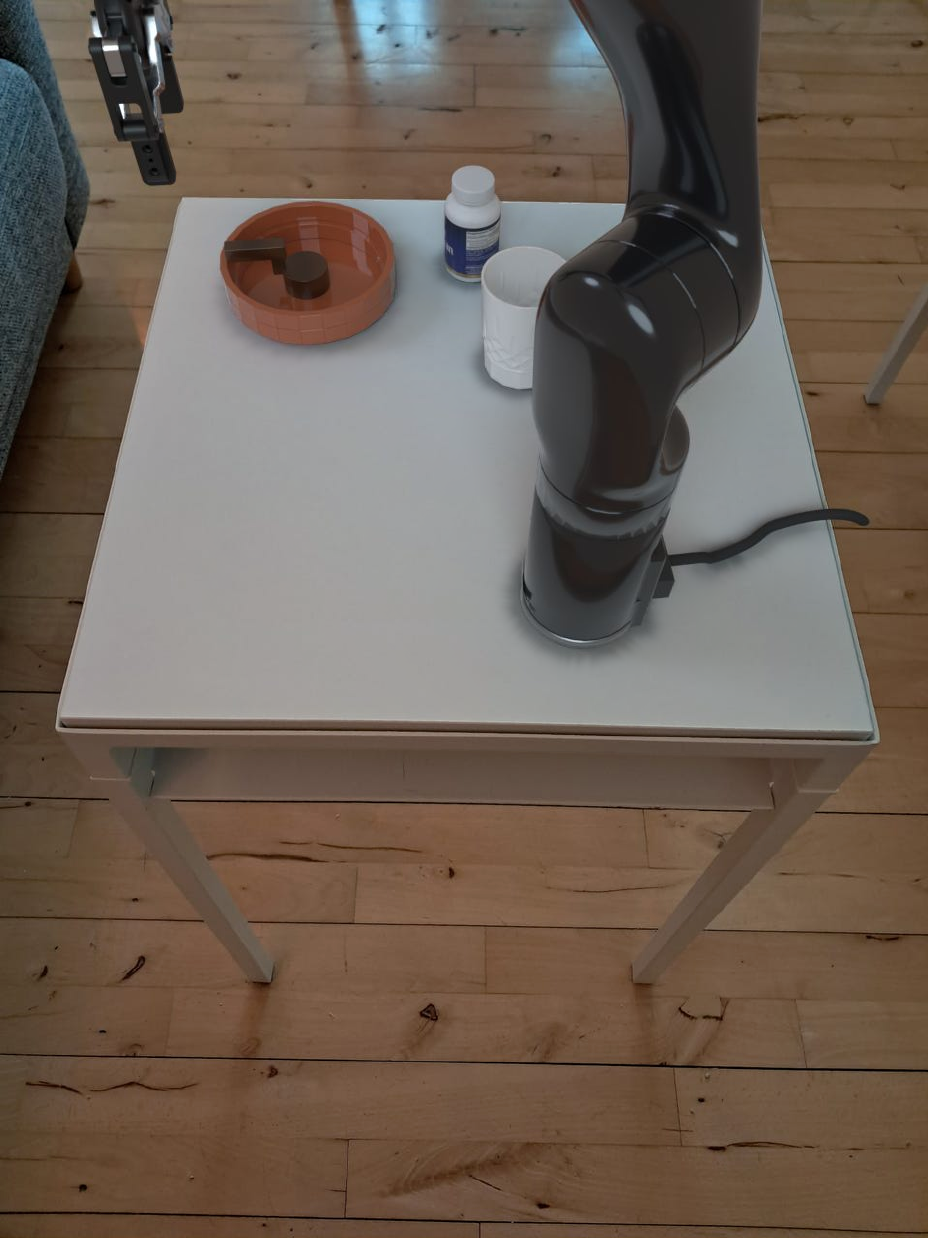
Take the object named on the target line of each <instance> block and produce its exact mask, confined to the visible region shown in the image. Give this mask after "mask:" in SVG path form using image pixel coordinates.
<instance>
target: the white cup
mask: <svg viewBox="0 0 928 1238" xmlns="http://www.w3.org/2000/svg"><path fill="white" fill-rule="evenodd" d="M567 261H568V260H566V259H565V258H563V256H561V255H559V254H558V253H556V252H555V251H552V250H550V249H547V248H544V247H540V246H534V245H517V246H511V247H508V248H505V249H502V250H499V252H498V253H496V254H494V255H493V256H492V257H490V258H489V259H488V260H487V262H486V263H485V265H484V266H483V269H482V273H481V281H480V284H481V322H482V323H481V324H482V325H481V326H482V327H481V328H482V340H483V347H484V350H483V351H484V367H485V369H486V371H487V373H488V375H489V376H490V378H491V379H492V380H494V381H495V382H497V383H498V384H500V385H501V386H503V387H506V388H511V389H516V390H527V389H532V377H533V349H534V331H535V321H536V314H537V309H538V305H539V301H540V298H541V295H542V292H543V290H544V288H545V286H546V284H547V282H548V280H549V279H550V277H551V276H552V275H553V273H554V272H555V271H556V270H557V269H559V268H560V267H561V266H562V265H563V264H565V263H566V262H567Z"/></svg>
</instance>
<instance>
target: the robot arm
mask: <svg viewBox="0 0 928 1238" xmlns="http://www.w3.org/2000/svg"><path fill="white" fill-rule="evenodd" d="M567 1H568V3H569V4H570V7H571V8H572V10H573V11H574V13H575V15H576V17H577V18H578V20H579V21H580V23H581V25H582V26H583V28H584V30H585V32H586V33H587V35H588V36H589V38H590V39H591V41H592V42H593V45H594V46H595V48H596V49H597V51H598V52H599V54H600V56H601V57H602V59H603V61H604V63H605V65H606V66H607V68H608V70H609V72H610V74H611V77H612V79H613V82H614V84H615V86H616V89H617V92H618V97H619V101H620V105H621V109H622V115H623V121H624V131H625V132H624V133H625V145H626V164H627V165H626V196H625V197H626V199H625V207H624V212H623V216H622V219H621V221H620V222H619V223H618V224H617V225H615V226H614V227H612V228H611V229H610V230H608V231H606V232H605V233H604V234H602V235H601V236H600V237H599V238H597V239H596V240H595V241H593V242H592V243H590V244H589V245H587V246H586V247H585V248H583V249H582V250H581V251H580V252H578V253H577V254H575V255H573V257H572V258H570V259H568V260H566V261H567V262H566V263H565V264H563V265H562V266H561V267H560V268H559V269H557V270H556V271H555V272H554V273H553V275H552V276H551V277H550V279H549V280H548V282H547V284H546V286H545V288H544V290H543V292H542V295H541V298H540V301H539V305H538V309H537V314H536V321H535V331H534V349H533V377H532V388H531V414H532V419H533V424H534V427H535V431H536V433H537V436H538V439H539V450H538V451H539V452H538V457H537V466H536V474H535V482H534V490H533V498H532V505H531V512H530V513H531V514H530V521H529V529H528V536H527V544H526V552H525V559H524V556H522V558H521V580H520V581H521V582H520V589H519V590H520V591H519V599H520V605H521V609H522V612H523V613H524V615H525V618H526V619H527V621H528V622H529V623H530V625H531V626H532V627H533V628H534V629H535V630H536V631H537V632H538V634H541V635H542V636H543V637H544V638H545V639H548V640H549V641H551V642H554V643H556V644H557V645H558V644H559V645H561V646H564V647H569V648H573V649H574V648H575V649H593V648H598V647H602V646H605V645H609V644H610V643H612V642H614V641H616V640H617V639H619V638H620V637H622V636H623V635H624V634H625V633H626V632H627V631H628V630H629V629H630V628H631V627H638V626H642V625H643V624H644V622H645V620H646V616H647V615H648V611H649V608H650V605H651V602H652V600H654V599H655V600H656V599H666V598H669V597H670V595H671V592H672V589H673V587H674V585H675V582H676V581H675V576H674V573H673V569H672V567H678V566H687V565H696V564H697V565H699V564H706V565H711V564H716V563H719V562H722V561H725V560H728V559H730V558H732V557H736V556H737V555H739V554H742V553H743V552H746V551H748V550H749V549H751V548H753V547H754V546H756V545H757V544H759V543H760V542H761V541H763V540H764V539H765V538H766V537H768V536H769V535H770V534H772V533H775V532H777V531H779V530H783V529H786V528H790V527H795V526H797V525H802V524H806V523H812V522H819V521H832V520H833V521H835V520H837V521H847V522H852V523H855V524H857V525H858V526H859V527H866V526H869V525H870V523H871V522H870V519H869V518H868V516H866V515H865V514H863V513H861V512H859V511H856V510H854V509H853V510H852V509H846V508H819V509H812V510H807V511H802V512H797V513H792V514H789V515H785V516H781V517H779V518H778V517H777V518H775V519H773V520H769V521H768V522H765V523H764V524H763V525H762V526H760V527H759V528H757V529H756V530H755V531H754V532H753V533H752V534H750V535H748V536H747V537H745V538H743V539H741V540H739V541H737V542H735V543H733V544H731V545H728V546H726V547H723V548H721V549H717V550H713V551H710V552H708V551H694V552H693V551H692V552H684V553H683V552H682V553H674V554H668V550H667V546H666V542H665V539H664V535H663V532H664V530H665V526H666V523H667V520H668V517H669V514H670V512H671V509H672V508H671V507H672V505H673V502H674V499H675V496H676V494H677V490H678V488H679V485H680V481H681V478H682V475H683V473H684V470H685V467H686V463H687V461H688V457H689V453H690V447H691V446H690V445H691V437H690V436H691V435H690V428H689V425H688V422H687V419H686V418H685V415H684V413H683V412H682V410H681V409H680V407H679V406H678V405H677V402H678V401H679V399H680V398H681V397H683V395H685V394H686V393H687V392H688V391H690V390H691V389H692V388H693V387H694V386H696V384H698V383H699V382H700V381H701V380H702V379H703V378H704V377H706V376H707V375H709V373H710V372H711V371H713V369H715V368H716V367H717V366H718V365H720V363H721V362H723V361H724V360H725V359H726V358H728V356H730V355H731V353H732V352H734V350H736V348H738V346H739V345H740V344H741V342H742V341H743V340H744V338H745V336H747V334H748V332H749V331H750V329H751V327H752V326H753V324H754V322H755V319H756V317H757V314H758V311H759V307H760V302H761V297H762V290H763V273H764V253H763V252H764V251H763V248H764V247H763V245H764V244H763V229H762V228H763V226H762V225H763V224H762V223H763V222H762V221H763V220H762V202H761V201H762V199H761V180H760V178H761V177H760V159H759V125H758V124H759V123H758V122H759V121H758V120H759V116H758V115H759V114H758V111H759V109H758V108H759V106H758V105H759V104H758V103H759V98H758V97H759V82H760V81H759V80H760V61H761V43H762V27H763V26H762V25H763V6H764V0H567ZM93 7H94V8H92V9H89V19H90V20H89V21H90V25H91V32H92V35H93V37H88V39H87V40H88V45H87V49H88V50H87V51H88V54H89V55H90V57H91V60H92V63H93V66H94V70H95V72H96V77H97V80H98V83H99V85H100V89H101V91H102V92H101V93H102V96H103V99H104V102H105V105H106V108H107V111H108V115H109V118H110V121H111V124H112V129H113V134H114V136H115V137H116V140H117V142H119V143H123V142H124V143H125V142H126V143H127V142H130V145H131V147H132V151H133V154H134V157H135V160H136V164H137V166H138V167H137V168H138V170H139V173H140V176H141V179H142V182H143V183H144V184H145V185H147V186H149V187H155V186H172V185H174V184H175V183H176V180H177V169H176V166H175V163H174V158H173V155H172V151H171V149H170V148H171V147H170V144H169V142H168V141H169V140H168V138H167V134H166V131H165V125H166V124H165V120H164V119H165V118H164V117H163V115H173V114H174V115H175V114H181V113H182V112H183V111H184V106H185V100H184V97H183V93H182V88H181V85H180V81H179V77H178V72H177V69H176V65H175V61H174V56H173V55H172V54H174V48H175V42H174V39H173V38H172V31H173V28H174V27H173V25H174V18H173V15H172V14H171V12H170V7H169V3H168V0H93ZM169 54H171V55H169ZM131 104H132V105H133V104H134V105H137V106H139V108H140V111H141V112H132V113H131V108H130V105H131ZM524 560H525V561H524ZM523 561H524V562H523ZM523 563H524V564H523ZM523 566H524V567H523ZM523 568H524V569H523Z"/></svg>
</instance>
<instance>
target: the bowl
mask: <svg viewBox="0 0 928 1238" xmlns="http://www.w3.org/2000/svg"><path fill="white" fill-rule="evenodd" d="M267 238H285V244H286V251H287V257H288V256H289V255H291V254H293V253H296V252H300V251H312V252H316V253H319V254H320V255H322V256H323V257H324V258H325V259H326V261H327V264H328V271H329V278H330V286H329V289H328V290H327V291H326V293H324V294H323V295H322V296H320V297H317V298H314V299H306V300H305V299H298V298H295V297H293V296H291V295H290V294H289V293H288V292H287V290H286V288H285V284H284V278H283V275H274V273H273V268H272V263H271V260H263V261H248V262H232V263H227V261H226V257H225V253H224V246H223V247H222V249H221V251H220V255H219V271H220V276H221V280H222V283H223V288H224V292H225V296H226V298H227V301H228V305H229V307H230V309H231V312H232V313H233V314H234V315H235V317H236V318H237V319H238V320H239V322H240V323H242V325H244V326H245V327H247V328H248V329H250V330H251V331H252V332H254V333H256V334H257V335H259V336H261V337H265V338H268V339H270V340H273V341H276V342H279V343H284V344H293V345H301V346H306V345H321V344H328V343H332V342H337V341H339V340H343V339H347V338H350V337H352V336H354V335H356V334H358V333H360V332H362V331H363V330H367V329H368V328H369V327H370V326H371V325H372V324H374V323H375V322H376V321H377V320H378V319H380V318H381V317H382V316H383V315H384V314H385V312H386V310H387V309H388V308H389V306H390V305H391V304H392V302H393V298H394V295H395V291H396V288H397V282H396V266H395V265H396V264H395V262H396V261H395V252H394V243H393V242H392V240H391V237H389V234H388V233H387V230H386V229H385V228H384V227H383V226H382V225H381V224H380V223H379V222H378V221H377V220H376V219H375V218H373V217H372V216H370V215H369V214H366V213H365V212H363V211H361V210H360V209H358V208H355V207H352V206H349V205H345V204H342V203H339V202H328V201H320V200H307V201H292V202H288V203H284V204H280V205H275V206H272V207H270V208H267V209H264V210H262V211H260V212H257V213H255V214H254V215H252V216H251V217H249V218H247V219H246V220H245V221H243V222H242V223H240V224H239V225H237V227H236V228H235V229H233V231H232V232H231V233H230V234H229V236H228V237H227V238H226V240H225V241H236V240H252V239H267Z"/></svg>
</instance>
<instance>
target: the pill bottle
mask: <svg viewBox="0 0 928 1238" xmlns="http://www.w3.org/2000/svg"><path fill="white" fill-rule="evenodd" d="M495 190H496V179H495V176H494V174H493V172H492V171H491V170H490V169H488V168H486V167H484V166H480V165H466V166H465V165H464V166H462V167H459V168H458V169H456V170H455V171H454V172H453V174H452V176H451V192H450V193H449V194H448V195H447V197H446V198H445V201H444V205H443V207H444V210H443V215H444V216H443V219H444V221H443V223H444V227H443V230H444V231H443V232H444V233H443V234H444V235H443V236H444V266H445V269H446V271H447V273H449V275H450V276H451V277H453V278H454V279H455V280H458V281H461V282H464V283H465V282H466V283H479V282H481V273H482V269H483V266H484V265H485V263H486V262H487V260H488V259H489V258H490V257H492V256H493V255H494V254H496V253H498V252H500V238H501V237H500V233H501V217H502V204H501V200H500V198H499V197H498V195H497V194H496V193H495Z"/></svg>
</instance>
